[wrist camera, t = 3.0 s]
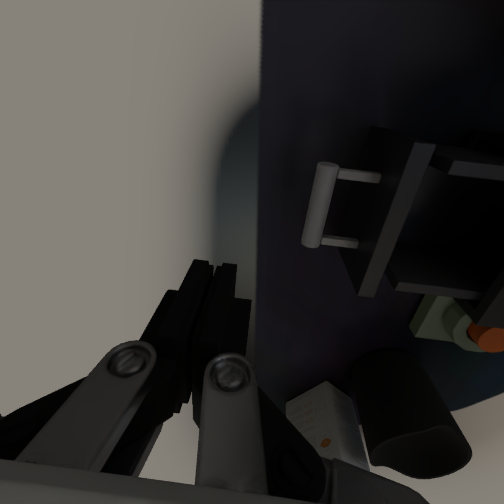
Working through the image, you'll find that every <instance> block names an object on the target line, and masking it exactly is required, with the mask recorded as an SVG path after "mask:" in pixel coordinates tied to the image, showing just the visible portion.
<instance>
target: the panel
mask: <svg viewBox="0 0 504 504" xmlns="http://www.w3.org/2000/svg"><path fill="white" fill-rule="evenodd" d="M471 322H472V320H471V319H470V317H469V316H468V315H467V314H466V313H465V312H464V310H463V309H462V308H461V307H460V306H459V305H458V304H457V302H456V301H455V300H454V299H453V298H452V297H444V296H436V295H428V294H425V296H424V298H423V300H422V301H421V303H420V305H419V307H418V309H417V311H416V313H415V315H414V317H413V319H412V320H411V322H410V324H409V328H410V329H411V331H412V333H413V335H414V336H415V337H420V338H428V339H436V340H443V341H451V342H454V343H456V344H457V345H459V346H460V347H461V348H463V349H464V350H468V351H476V352H486V351H484V350H482V349H481V348H479V346H478V345H477V344H476V343H475V341H474V340H473V339H472V338H471V336H470V335H469V334H468V331H467V328H468V327H469V325H470V324H471Z"/></svg>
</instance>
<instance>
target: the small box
mask: <svg viewBox="0 0 504 504" xmlns="http://www.w3.org/2000/svg"><path fill="white" fill-rule="evenodd" d="M286 417H287V419H288V420H289V421H290V422H291V423H292V424H293V425H294V426H295V427H296V429H297V430H298V431H299V432H300V433H301V434H302V435H303V436H304V437H305V438H306V440H307V441H308V442H309V443H310V444H311V445H312V446H313V447H314V448H315V450H316V451H317V453H318V454H319V456H322V457H324V458H327V459H329V460H333V458H337V459H339V460H342V461H344V462H347V463H349V464H352V465H354V466H357V467H359V468H362V469H364V470H367V471H369V472H370V469H369V465H368V461H367V458H366V454H365V450H364V446H363V442H362V438H361V434H360V430H359V426H358V422H357V418H356V414H355V411H354V407H353V403H352V399H351V398H350V397H349V396H347V395H346V394H344V393H343V392H342V391H340V390H339V389H338V388H336V387H335V386H333V385H332V384H331V383H329V382H328V381H325V382H323V383H321V384H319V385H317V386H316V387H314V388H312V389H310V390H308V391H307V392H305V393H303V394H301V395H299V396H297V397H296V398H294V399H292V400H290V401H289V402H287V403H286Z"/></svg>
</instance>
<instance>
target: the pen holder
mask: <svg viewBox="0 0 504 504" xmlns="http://www.w3.org/2000/svg"><path fill="white" fill-rule="evenodd" d="M352 382H353V387H354V392H355V397H356V402H357V406H358V411H359V415H360V420H361V424H362V428H363V433H364V438H365V442H366V447H367V451H368V455H369V460H370V463H371V465H373V466H386V467H389V468H391V469H393V470H396V471H398V472H400V473H402V474H404V475H406V476H409V477H412V478H416V479H432V478H438V477H442V476H445V475H449V474H451V473H454V472H456V471H458V470H460V469H461V468H463V467H464V466H465V465H466V464H467V463H468V462H469V461H470V459H471V457H472V450H471V447H470V445H469V443H468V442H467V440H466V439H465V437H464V435H463V433H462V431H461V430H460V428H459V426H458V425H457V423H456V421H455V420H454V418H453V416H452V415H451V413H450V411H449V409H448V408H447V406H446V404H445V403H444V401H443V399H442V398H441V396H440V394H439V393H438V391H437V389H436V387H435V386H434V384H433V382H432V381H431V379H430V378H429V376H428V374H427V373H426V371H425V369H424V368H423V366H422V364H421V363H420V362H419V360H418V359H417V358H416V357H414V356H413V355H411V354H409V353H407V352H404V351H400V350H393V349H387V350H379V351H375V352H372V353H369V354H367V355H365V356H364V357H362V358H361V359H360V360H359V361H358V362H357V363H356V364H355V366H354V368H353V370H352Z"/></svg>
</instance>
